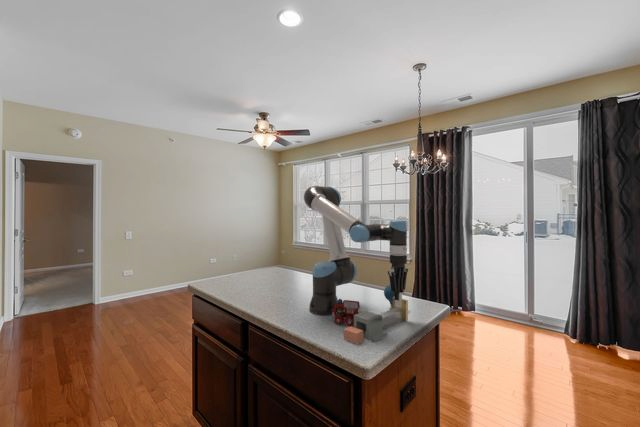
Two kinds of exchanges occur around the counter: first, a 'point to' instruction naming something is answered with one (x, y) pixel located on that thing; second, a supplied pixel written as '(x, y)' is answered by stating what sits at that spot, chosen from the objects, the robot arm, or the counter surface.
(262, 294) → the counter surface
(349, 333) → the block
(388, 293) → the teal egg
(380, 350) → the counter surface
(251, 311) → the counter surface
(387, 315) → the shaft
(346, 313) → the toy fire truck
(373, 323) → the housing
